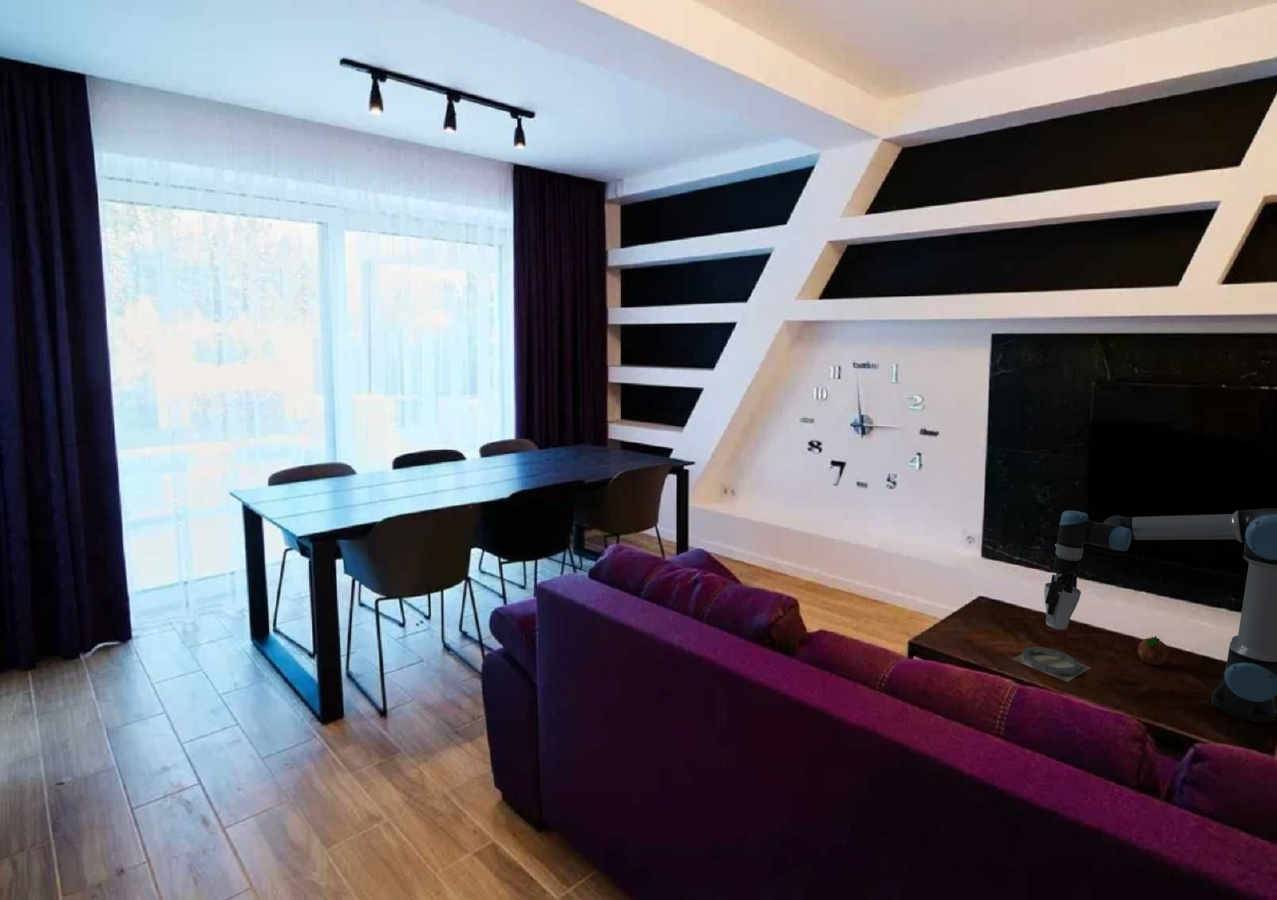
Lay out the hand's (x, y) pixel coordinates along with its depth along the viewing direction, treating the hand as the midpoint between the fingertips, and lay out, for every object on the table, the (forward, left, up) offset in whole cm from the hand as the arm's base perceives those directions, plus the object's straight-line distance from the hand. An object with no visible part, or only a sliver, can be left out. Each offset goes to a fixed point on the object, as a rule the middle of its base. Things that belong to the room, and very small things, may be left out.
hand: (1057, 619), depth 233 cm
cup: (0, 0, -2) cm, 2 cm away
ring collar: (0, 0, -16) cm, 16 cm away
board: (0, 0, -17) cm, 17 cm away
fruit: (-18, -35, -17) cm, 43 cm away
